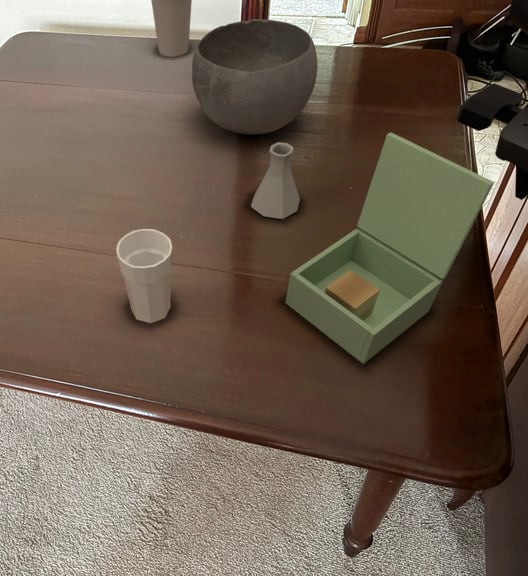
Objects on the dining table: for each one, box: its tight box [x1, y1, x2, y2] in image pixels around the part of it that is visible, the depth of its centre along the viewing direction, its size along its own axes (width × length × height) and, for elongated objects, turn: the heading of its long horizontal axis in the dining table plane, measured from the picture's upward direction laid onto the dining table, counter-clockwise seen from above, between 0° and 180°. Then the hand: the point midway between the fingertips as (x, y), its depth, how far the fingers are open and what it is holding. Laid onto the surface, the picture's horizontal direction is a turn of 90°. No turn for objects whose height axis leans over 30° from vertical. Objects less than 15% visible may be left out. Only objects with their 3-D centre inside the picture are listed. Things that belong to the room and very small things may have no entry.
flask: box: [250, 141, 301, 220], centre depth 83 cm, size 7×7×10 cm
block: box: [325, 270, 380, 320], centre depth 69 cm, size 4×4×4 cm
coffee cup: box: [151, 0, 193, 58], centre depth 117 cm, size 10×10×15 cm
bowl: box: [191, 18, 318, 135], centre depth 96 cm, size 20×20×15 cm
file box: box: [285, 227, 444, 365], centre depth 70 cm, size 12×12×6 cm
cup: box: [116, 228, 173, 324], centre depth 71 cm, size 7×7×11 cm
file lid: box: [356, 132, 495, 280], centre depth 65 cm, size 13×12×1 cm
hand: (520, 197), depth 66 cm, fingers closed
